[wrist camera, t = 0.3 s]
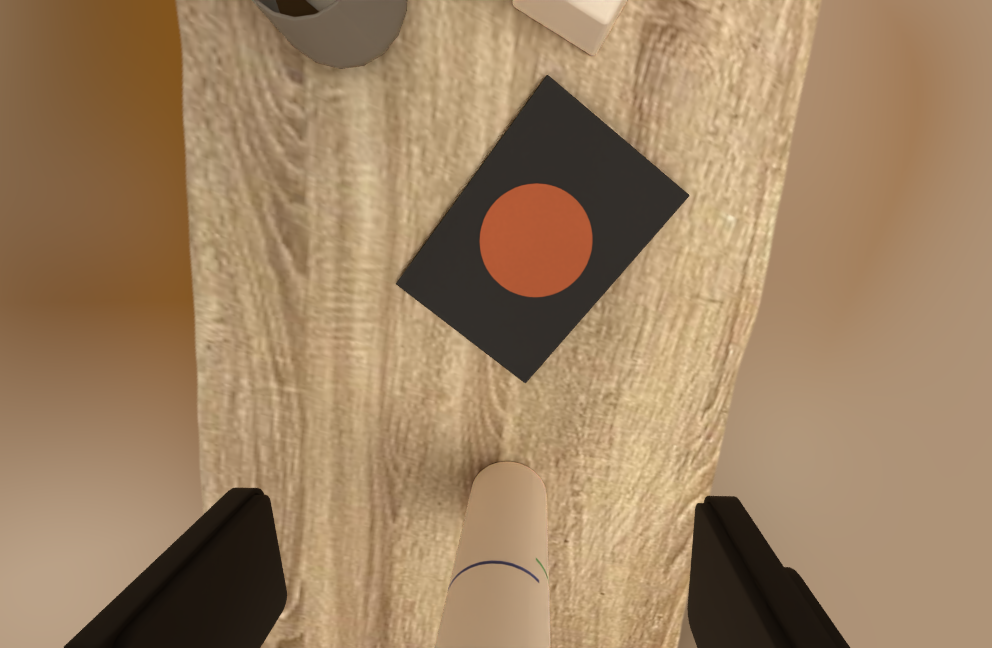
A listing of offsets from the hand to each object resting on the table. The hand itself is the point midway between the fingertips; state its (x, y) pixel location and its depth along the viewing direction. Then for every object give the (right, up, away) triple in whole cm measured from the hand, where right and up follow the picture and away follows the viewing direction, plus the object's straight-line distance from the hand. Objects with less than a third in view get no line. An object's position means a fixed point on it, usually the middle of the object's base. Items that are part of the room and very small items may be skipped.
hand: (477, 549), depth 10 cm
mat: (+4, +12, +28) cm, 31 cm away
